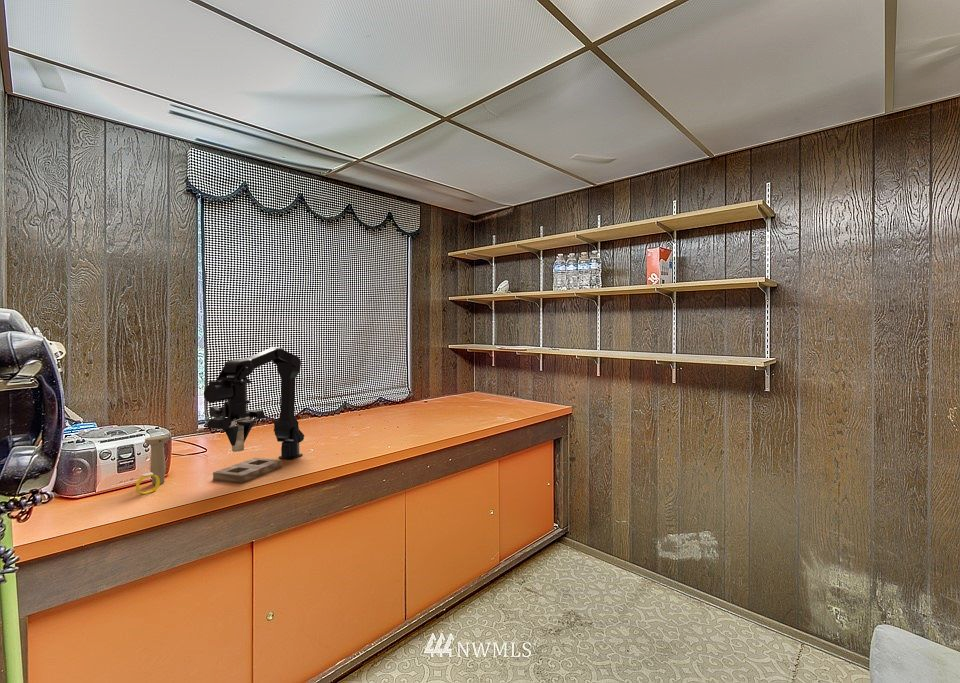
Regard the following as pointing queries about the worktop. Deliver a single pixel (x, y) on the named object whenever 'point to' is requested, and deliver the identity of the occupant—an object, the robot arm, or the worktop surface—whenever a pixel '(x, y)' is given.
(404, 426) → the worktop surface
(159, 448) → the handle
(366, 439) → the worktop surface
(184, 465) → the worktop surface
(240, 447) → the pin
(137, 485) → the yellow round part
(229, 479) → the bore block
